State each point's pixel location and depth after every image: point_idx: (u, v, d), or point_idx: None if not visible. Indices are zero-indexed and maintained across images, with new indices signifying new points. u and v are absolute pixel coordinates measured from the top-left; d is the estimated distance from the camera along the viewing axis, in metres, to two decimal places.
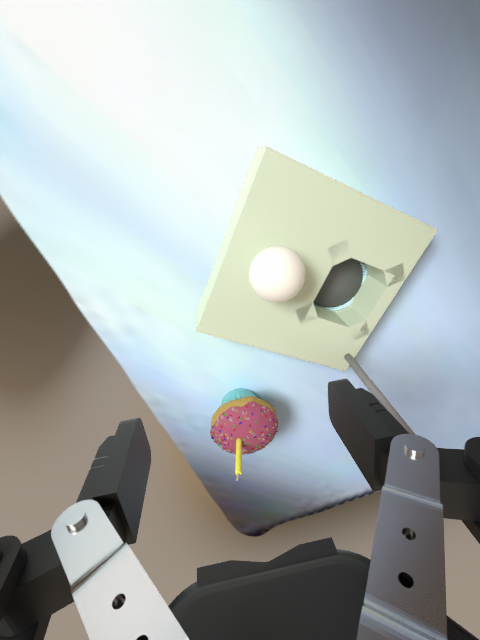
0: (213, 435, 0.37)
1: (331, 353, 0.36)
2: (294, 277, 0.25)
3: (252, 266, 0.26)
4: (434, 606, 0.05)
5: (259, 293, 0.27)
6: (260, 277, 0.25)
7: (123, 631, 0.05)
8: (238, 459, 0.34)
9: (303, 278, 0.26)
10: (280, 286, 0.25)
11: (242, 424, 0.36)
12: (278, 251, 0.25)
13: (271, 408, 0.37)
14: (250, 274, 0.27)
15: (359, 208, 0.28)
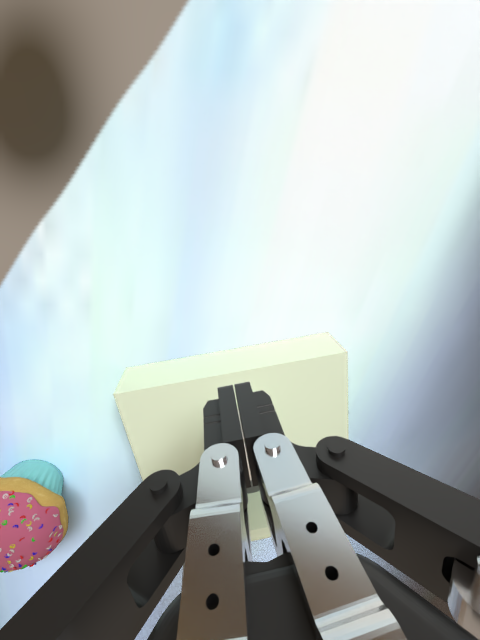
0: None
1: None
2: None
3: None
4: (359, 578, 0.06)
5: None
6: None
7: (206, 577, 0.06)
8: None
9: None
10: None
11: (16, 529, 0.23)
12: None
13: (64, 533, 0.26)
14: None
15: None
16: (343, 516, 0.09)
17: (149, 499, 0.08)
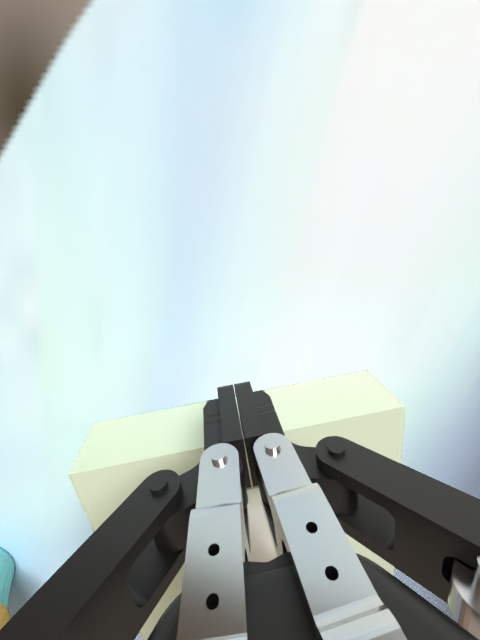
0: None
1: None
2: None
3: (257, 514, 0.14)
4: (359, 578, 0.06)
5: None
6: (258, 556, 0.13)
7: (206, 577, 0.06)
8: None
9: None
10: None
11: None
12: None
13: None
14: None
15: None
16: (343, 516, 0.09)
17: (149, 499, 0.08)
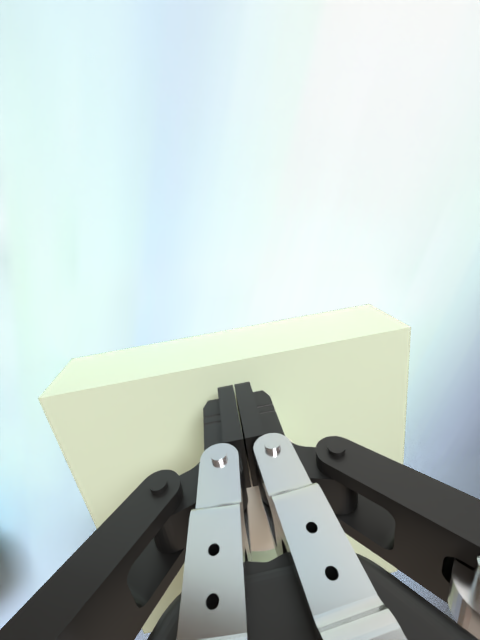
0: None
1: None
2: None
3: None
4: (359, 578, 0.06)
5: None
6: (252, 496, 0.12)
7: (206, 577, 0.06)
8: None
9: None
10: (261, 541, 0.12)
11: None
12: None
13: None
14: None
15: None
16: (343, 516, 0.09)
17: (150, 499, 0.08)
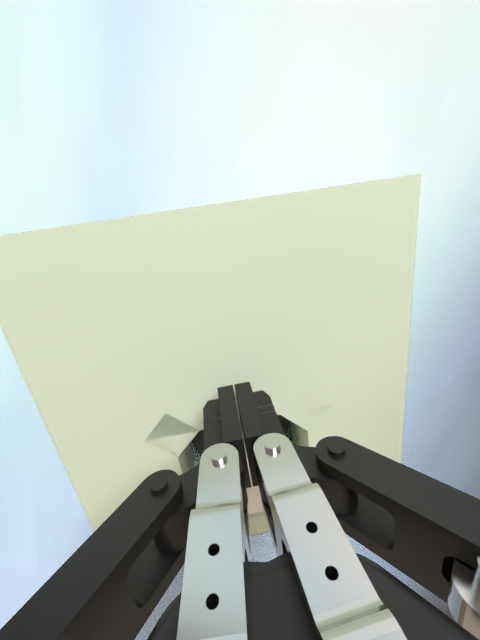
0: None
1: None
2: None
3: None
4: (359, 578, 0.06)
5: None
6: None
7: (206, 577, 0.06)
8: None
9: None
10: None
11: None
12: None
13: None
14: None
15: (384, 387, 0.16)
16: (343, 516, 0.09)
17: (150, 499, 0.08)
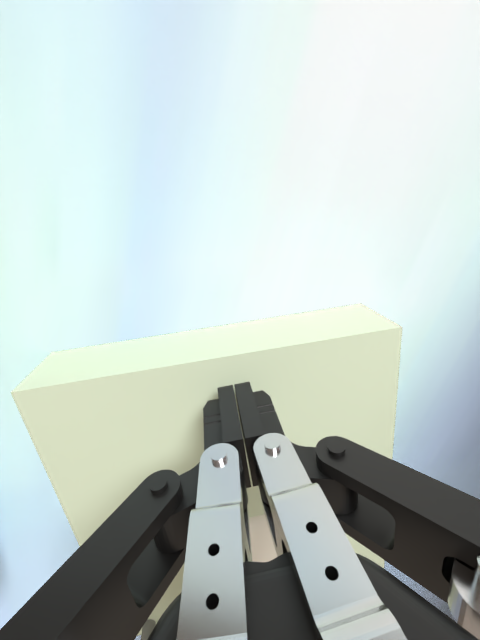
0: None
1: None
2: None
3: None
4: (359, 578, 0.06)
5: None
6: None
7: (206, 577, 0.06)
8: None
9: None
10: None
11: None
12: None
13: None
14: None
15: None
16: (343, 516, 0.09)
17: (149, 499, 0.08)
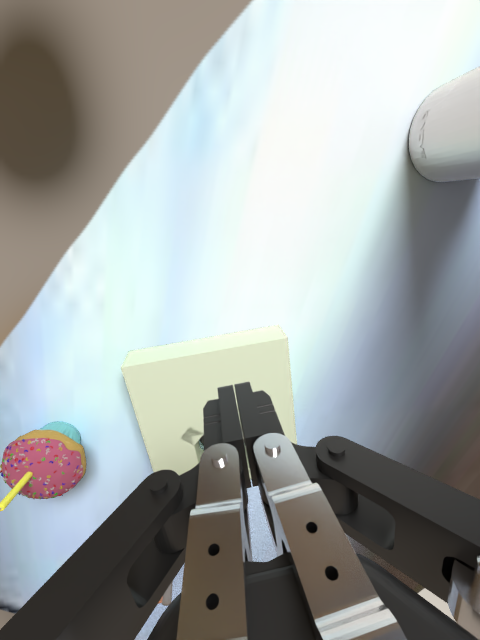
0: (12, 447, 0.32)
1: None
2: None
3: None
4: (359, 578, 0.06)
5: None
6: None
7: (206, 577, 0.06)
8: (13, 493, 0.29)
9: None
10: None
11: (51, 464, 0.32)
12: None
13: (84, 472, 0.35)
14: None
15: (284, 415, 0.37)
16: (343, 516, 0.09)
17: (149, 499, 0.08)
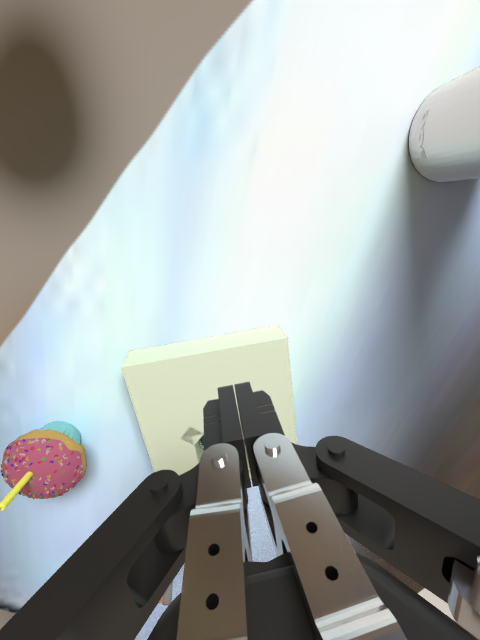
0: (13, 447, 0.32)
1: None
2: None
3: None
4: (359, 578, 0.06)
5: None
6: None
7: (206, 577, 0.06)
8: (13, 493, 0.29)
9: None
10: None
11: (52, 464, 0.32)
12: None
13: (84, 472, 0.35)
14: None
15: (284, 415, 0.37)
16: (343, 516, 0.09)
17: (150, 500, 0.08)
